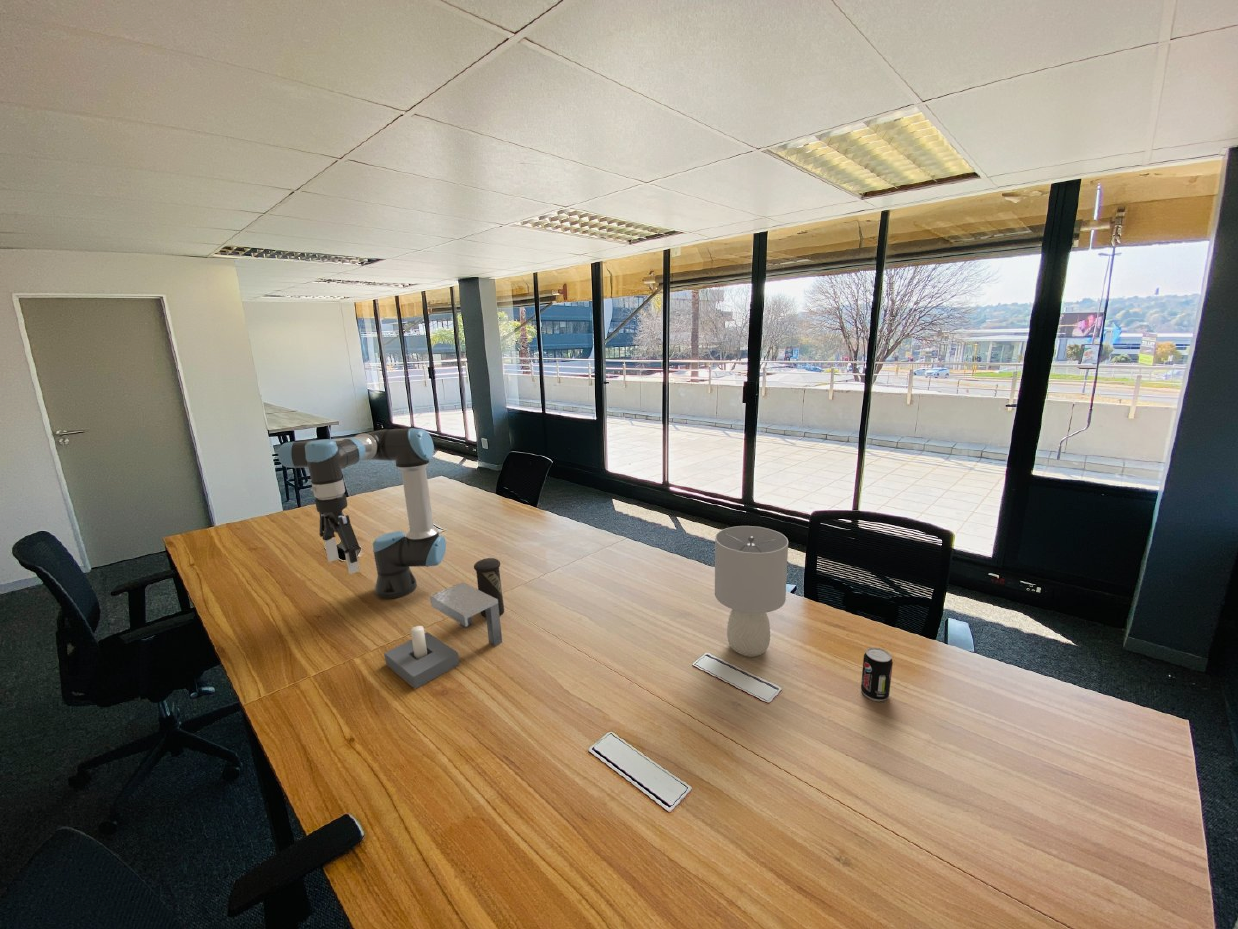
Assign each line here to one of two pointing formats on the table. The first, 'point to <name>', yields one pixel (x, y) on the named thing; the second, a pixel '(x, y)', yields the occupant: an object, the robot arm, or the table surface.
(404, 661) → the socket block
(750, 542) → the lamp
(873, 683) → the beverage can
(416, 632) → the peg
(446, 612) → the grey legged flat piece
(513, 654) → the table surface
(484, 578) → the container
